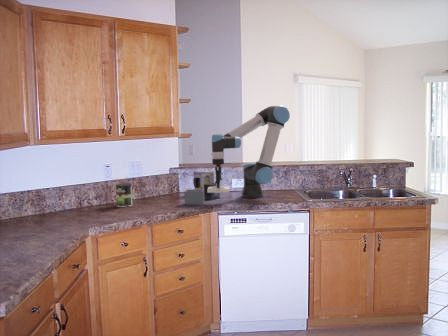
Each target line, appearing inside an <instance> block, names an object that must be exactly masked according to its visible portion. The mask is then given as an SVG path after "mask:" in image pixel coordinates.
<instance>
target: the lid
mask: <svg viewBox="0 0 448 336" xmlns="http://www.w3.org/2000/svg"><path fill="white" fill-rule="evenodd" d="M230 189H231V186H225V185H221V186H220V190H221V193H230V191H231V190H230ZM207 193H216V186H213V187H208V189H207Z"/></svg>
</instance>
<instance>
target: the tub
mask: <svg viewBox="0 0 448 336" xmlns="http://www.w3.org/2000/svg"><path fill="white" fill-rule="evenodd" d="M205 202H206V201H205V199H204V189H195V188H194V189H185V190H184V206H204V205H205Z"/></svg>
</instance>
